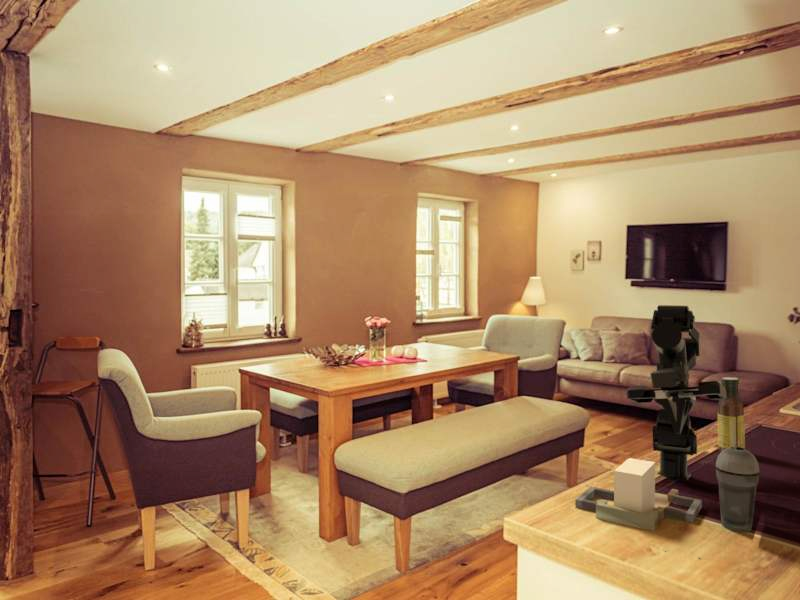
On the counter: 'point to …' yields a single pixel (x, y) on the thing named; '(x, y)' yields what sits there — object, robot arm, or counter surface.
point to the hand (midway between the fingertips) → (678, 433)
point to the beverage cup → (737, 486)
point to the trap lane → (636, 517)
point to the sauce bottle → (730, 416)
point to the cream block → (635, 485)
